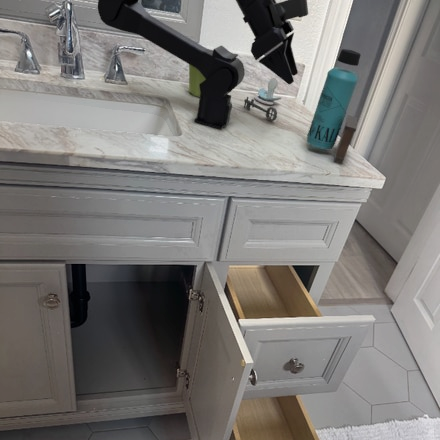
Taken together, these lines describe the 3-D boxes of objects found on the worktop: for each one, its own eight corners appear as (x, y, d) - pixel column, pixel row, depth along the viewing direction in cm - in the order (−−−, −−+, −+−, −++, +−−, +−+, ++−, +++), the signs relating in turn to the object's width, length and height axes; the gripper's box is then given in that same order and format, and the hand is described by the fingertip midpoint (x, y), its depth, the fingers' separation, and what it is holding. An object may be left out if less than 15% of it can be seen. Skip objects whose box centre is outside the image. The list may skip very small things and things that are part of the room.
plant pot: (186, 86, 115) (190, 50, 109) (220, 94, 115) (226, 59, 110) (179, 94, 108) (183, 57, 102) (215, 103, 108) (221, 66, 102)
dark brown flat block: (332, 162, 90) (345, 125, 85) (335, 149, 97) (347, 115, 92) (342, 164, 90) (356, 128, 85) (344, 151, 97) (357, 117, 92)
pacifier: (266, 107, 114) (282, 106, 117) (272, 82, 110) (288, 81, 113) (249, 98, 118) (264, 97, 121) (253, 74, 114) (269, 73, 117)
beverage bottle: (312, 142, 98) (343, 45, 85) (337, 153, 95) (373, 54, 82) (298, 147, 93) (328, 45, 81) (323, 159, 91) (359, 55, 78)
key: (276, 124, 103) (279, 110, 101) (273, 124, 103) (277, 110, 101) (244, 107, 110) (247, 93, 108) (242, 107, 109) (244, 93, 107)
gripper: (286, -29, 69) (328, 62, 75) (296, -28, 84) (331, 48, 90) (231, 16, 75) (275, 97, 81) (249, 9, 89) (285, 78, 95)
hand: (293, 78), depth 87 cm, fingers open, 9 cm apart
